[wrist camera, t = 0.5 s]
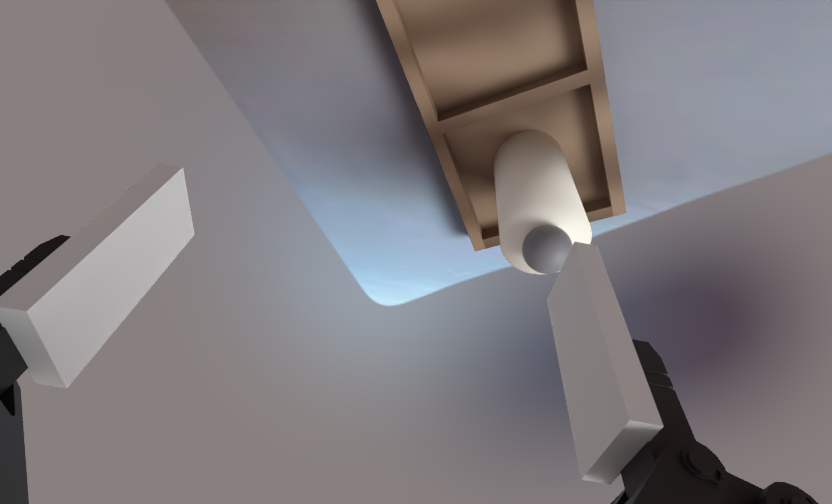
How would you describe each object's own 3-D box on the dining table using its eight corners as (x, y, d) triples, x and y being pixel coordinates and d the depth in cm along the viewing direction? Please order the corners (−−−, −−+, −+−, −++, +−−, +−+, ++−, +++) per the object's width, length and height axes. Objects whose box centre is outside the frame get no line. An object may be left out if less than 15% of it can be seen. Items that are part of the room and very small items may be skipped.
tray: (367, -42, 31) (360, -39, 29) (564, -138, 27) (570, -142, 25) (474, 236, 43) (475, 251, 42) (619, 198, 40) (626, 212, 38)
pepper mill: (485, 143, 37) (490, 239, 26) (555, 120, 35) (591, 213, 24) (503, 200, 40) (515, 307, 29) (569, 181, 38) (607, 288, 27)
